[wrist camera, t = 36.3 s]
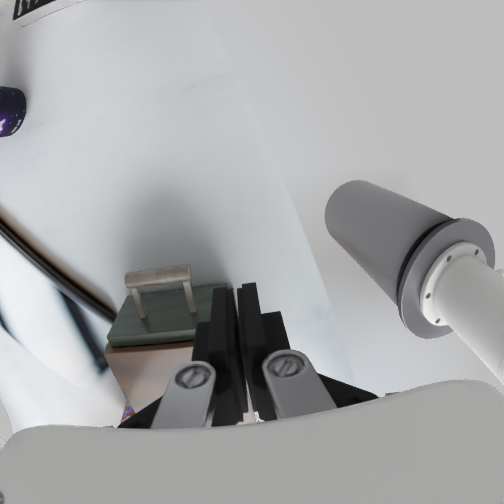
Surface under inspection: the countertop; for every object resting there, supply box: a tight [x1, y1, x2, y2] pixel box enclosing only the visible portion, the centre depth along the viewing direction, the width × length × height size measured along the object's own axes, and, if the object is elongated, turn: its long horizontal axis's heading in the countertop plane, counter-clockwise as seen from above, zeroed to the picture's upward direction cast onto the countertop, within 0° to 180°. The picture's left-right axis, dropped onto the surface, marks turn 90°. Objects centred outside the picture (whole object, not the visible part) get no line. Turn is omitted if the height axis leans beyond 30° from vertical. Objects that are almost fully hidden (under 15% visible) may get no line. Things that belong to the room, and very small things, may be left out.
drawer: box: [107, 264, 227, 347], centre depth 31 cm, size 19×11×8 cm, turn 7°
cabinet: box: [104, 288, 256, 425], centre depth 32 cm, size 16×13×10 cm
